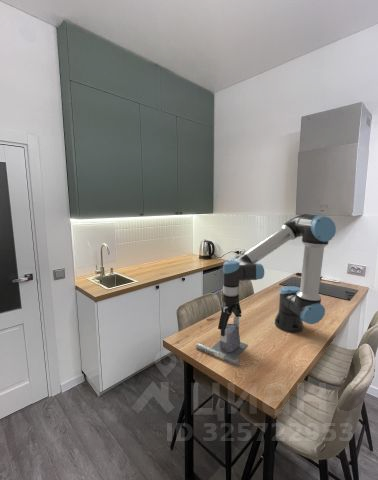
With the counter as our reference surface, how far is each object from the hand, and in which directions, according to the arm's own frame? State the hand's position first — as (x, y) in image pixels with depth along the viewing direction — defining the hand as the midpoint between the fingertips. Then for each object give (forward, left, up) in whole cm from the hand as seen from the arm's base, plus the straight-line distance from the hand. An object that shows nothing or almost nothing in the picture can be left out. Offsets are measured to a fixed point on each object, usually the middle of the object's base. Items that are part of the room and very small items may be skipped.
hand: (230, 334), depth 121 cm
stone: (0, +1, -7) cm, 7 cm away
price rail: (+2, +9, -7) cm, 12 cm away
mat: (0, 0, -7) cm, 7 cm away
